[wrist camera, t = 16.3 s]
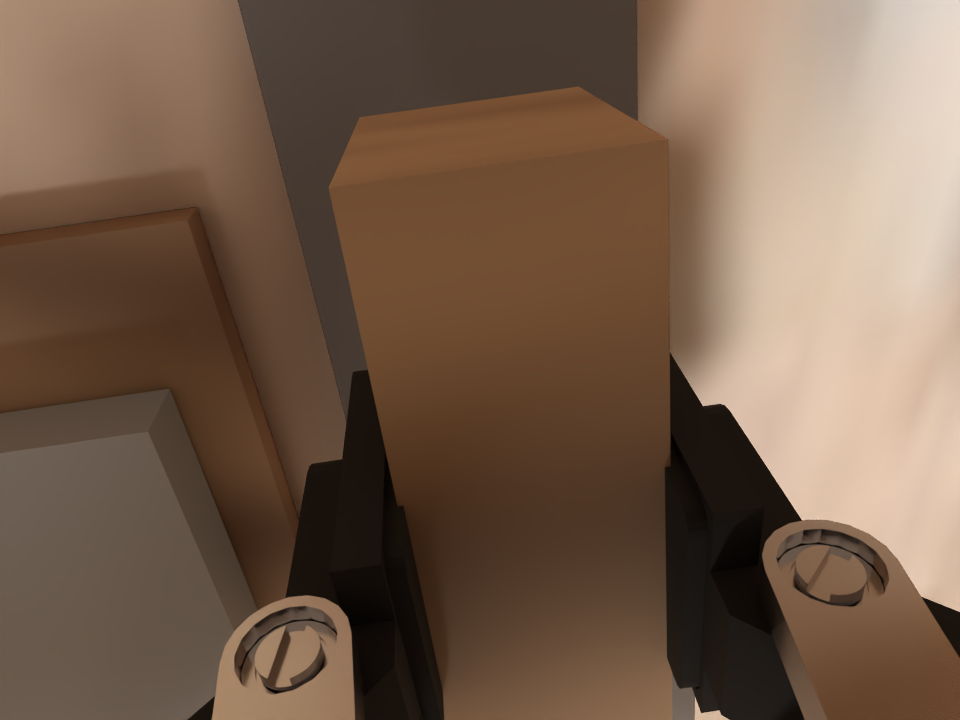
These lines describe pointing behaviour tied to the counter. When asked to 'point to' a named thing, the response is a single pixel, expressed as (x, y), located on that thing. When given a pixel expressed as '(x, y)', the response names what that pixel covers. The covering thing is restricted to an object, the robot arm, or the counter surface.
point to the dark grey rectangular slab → (410, 94)
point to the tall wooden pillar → (523, 392)
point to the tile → (110, 564)
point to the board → (149, 359)
